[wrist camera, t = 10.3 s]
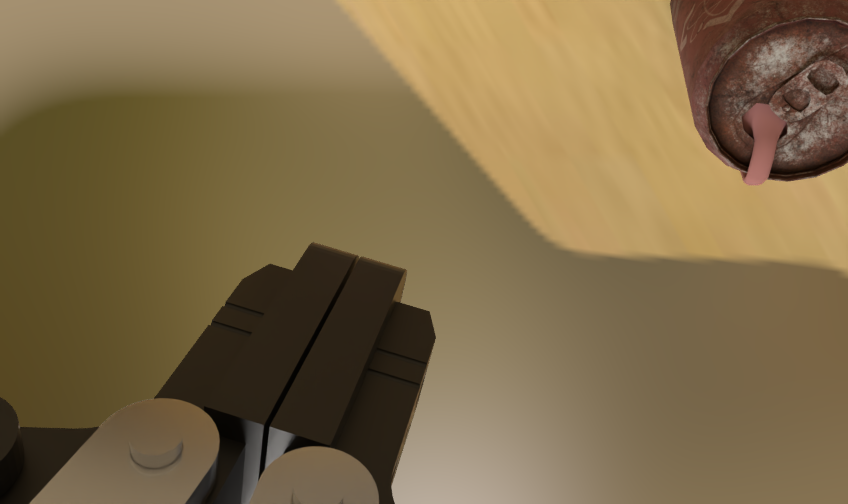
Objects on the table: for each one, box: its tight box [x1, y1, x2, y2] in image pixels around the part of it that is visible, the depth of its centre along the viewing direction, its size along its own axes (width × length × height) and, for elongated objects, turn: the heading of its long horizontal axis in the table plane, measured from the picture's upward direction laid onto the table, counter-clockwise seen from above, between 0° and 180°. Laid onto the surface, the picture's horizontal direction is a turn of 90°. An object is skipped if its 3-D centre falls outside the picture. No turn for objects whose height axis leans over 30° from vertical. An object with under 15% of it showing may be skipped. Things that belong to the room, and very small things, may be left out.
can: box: [670, 0, 848, 185], centre depth 29 cm, size 6×6×14 cm
